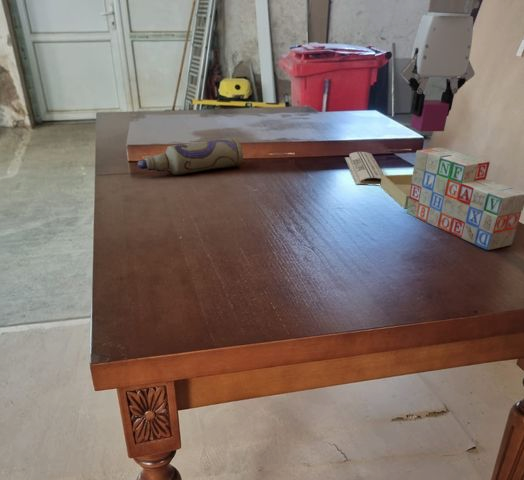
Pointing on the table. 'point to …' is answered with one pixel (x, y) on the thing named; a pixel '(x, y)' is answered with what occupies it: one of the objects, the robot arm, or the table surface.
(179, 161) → the decorative bottle
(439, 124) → the mulberry block
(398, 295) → the table surface
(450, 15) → the robot arm
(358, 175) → the newspaper
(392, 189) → the tray
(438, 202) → the stack of blocks
